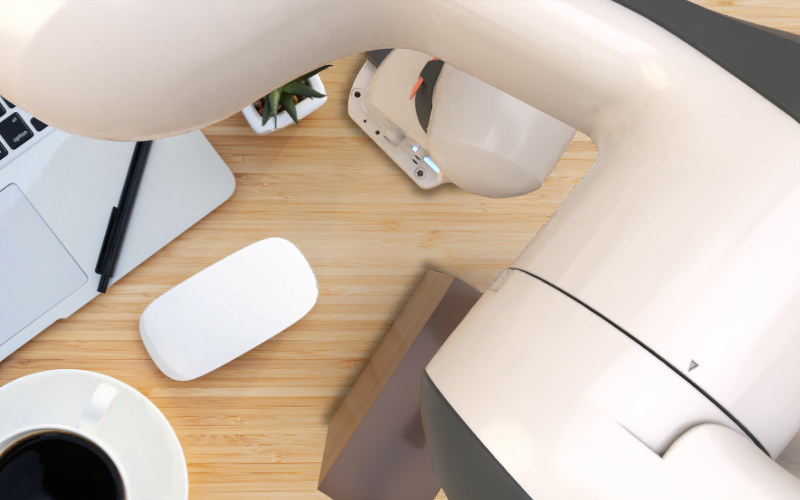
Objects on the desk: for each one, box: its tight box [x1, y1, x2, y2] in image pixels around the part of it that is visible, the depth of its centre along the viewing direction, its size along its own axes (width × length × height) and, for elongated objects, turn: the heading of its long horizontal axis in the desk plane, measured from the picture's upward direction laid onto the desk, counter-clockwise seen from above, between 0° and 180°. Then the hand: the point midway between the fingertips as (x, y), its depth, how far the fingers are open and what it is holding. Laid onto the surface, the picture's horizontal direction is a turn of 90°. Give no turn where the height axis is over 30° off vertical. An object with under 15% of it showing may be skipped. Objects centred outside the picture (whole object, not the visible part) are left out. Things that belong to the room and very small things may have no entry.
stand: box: [316, 269, 484, 500], centre depth 64 cm, size 10×24×22 cm, turn 146°
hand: (559, 393), depth 41 cm, fingers closed on knife, 3 cm apart
